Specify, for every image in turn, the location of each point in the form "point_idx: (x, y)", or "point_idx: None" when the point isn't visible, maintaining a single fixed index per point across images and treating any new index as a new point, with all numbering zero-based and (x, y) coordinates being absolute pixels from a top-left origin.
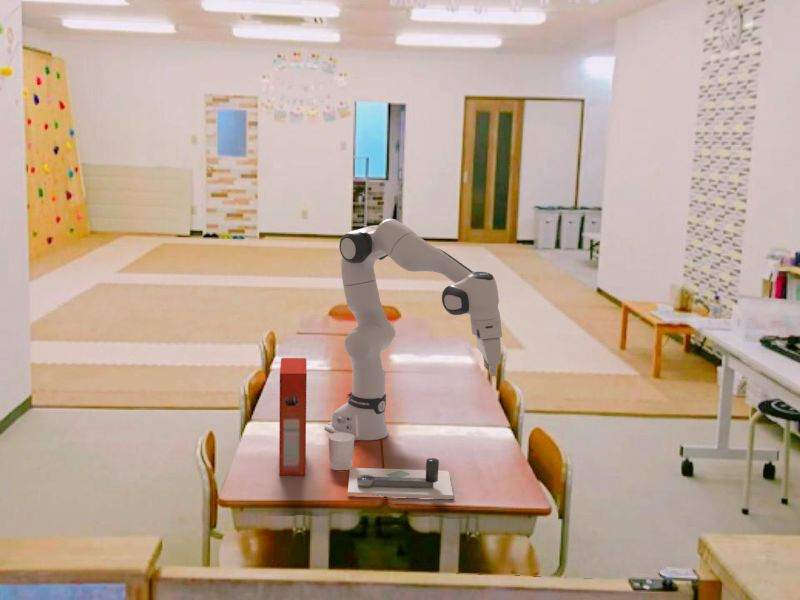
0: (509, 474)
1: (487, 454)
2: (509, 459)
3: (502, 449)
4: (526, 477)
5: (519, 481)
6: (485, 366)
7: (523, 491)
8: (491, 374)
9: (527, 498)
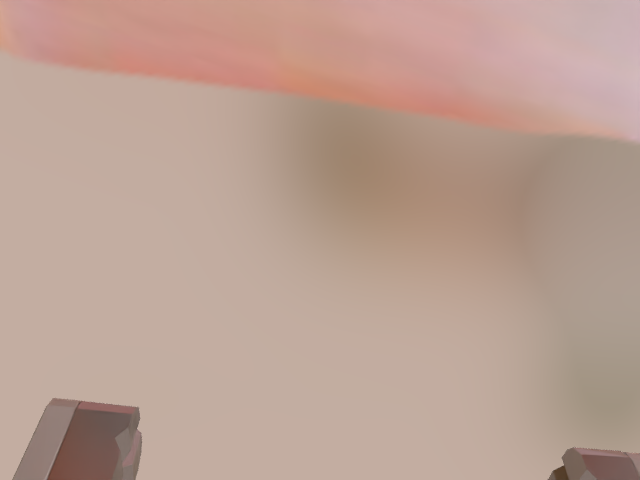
0: (340, 28)
1: (604, 3)
2: (507, 83)
3: (630, 92)
4: (300, 87)
5: (259, 45)
6: (578, 457)
7: (151, 26)
8: (46, 425)
9: (78, 18)
